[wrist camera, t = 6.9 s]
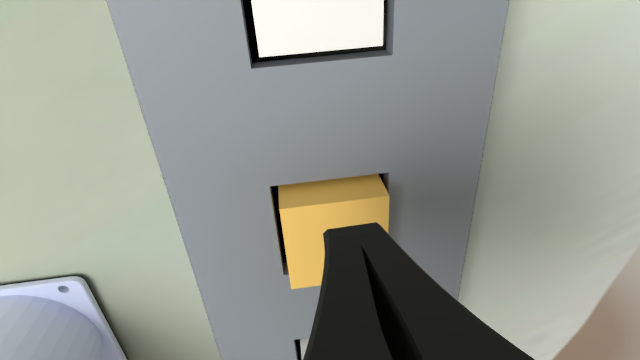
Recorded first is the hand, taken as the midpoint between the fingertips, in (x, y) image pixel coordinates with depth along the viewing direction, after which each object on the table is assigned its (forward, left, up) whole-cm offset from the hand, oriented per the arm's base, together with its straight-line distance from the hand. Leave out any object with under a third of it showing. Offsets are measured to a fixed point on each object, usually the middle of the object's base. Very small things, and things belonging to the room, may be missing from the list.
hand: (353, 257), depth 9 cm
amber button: (0, -3, -8) cm, 8 cm away
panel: (0, -3, -9) cm, 10 cm away
